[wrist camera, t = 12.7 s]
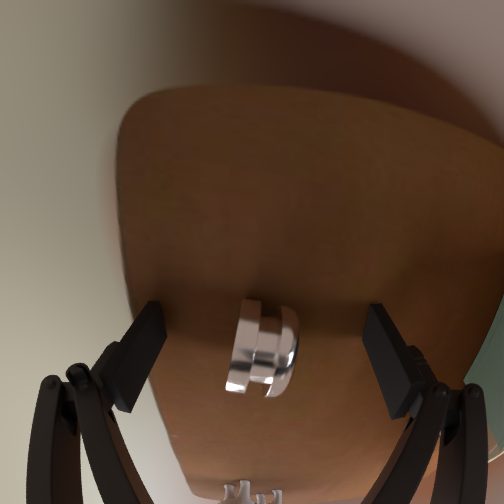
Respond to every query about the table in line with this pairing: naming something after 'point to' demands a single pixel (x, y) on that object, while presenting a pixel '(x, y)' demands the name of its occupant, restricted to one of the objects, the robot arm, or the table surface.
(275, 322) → the metal grooved wheel
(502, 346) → the cabinet
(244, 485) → the dog figurine
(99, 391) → the robot arm
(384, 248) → the table surface
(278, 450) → the table surface
